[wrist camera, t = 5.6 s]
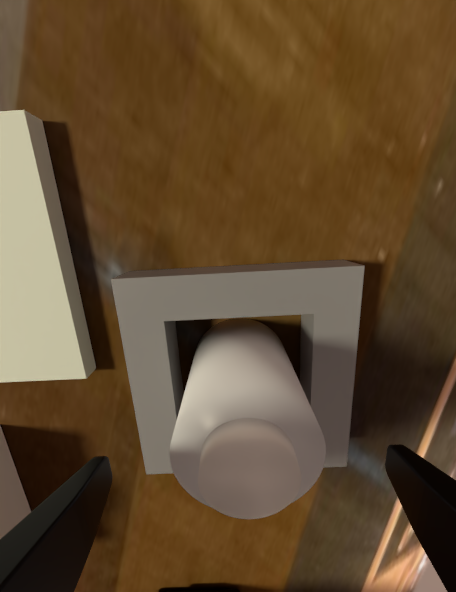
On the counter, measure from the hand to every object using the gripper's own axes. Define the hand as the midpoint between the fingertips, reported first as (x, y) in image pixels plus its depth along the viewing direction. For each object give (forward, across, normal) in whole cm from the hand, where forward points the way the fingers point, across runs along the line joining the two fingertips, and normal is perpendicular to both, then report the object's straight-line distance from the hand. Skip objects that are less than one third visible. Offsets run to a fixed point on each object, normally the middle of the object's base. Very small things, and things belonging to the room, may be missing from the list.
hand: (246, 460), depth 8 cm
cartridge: (+6, 0, 0) cm, 6 cm away
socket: (+6, 0, 0) cm, 6 cm away
